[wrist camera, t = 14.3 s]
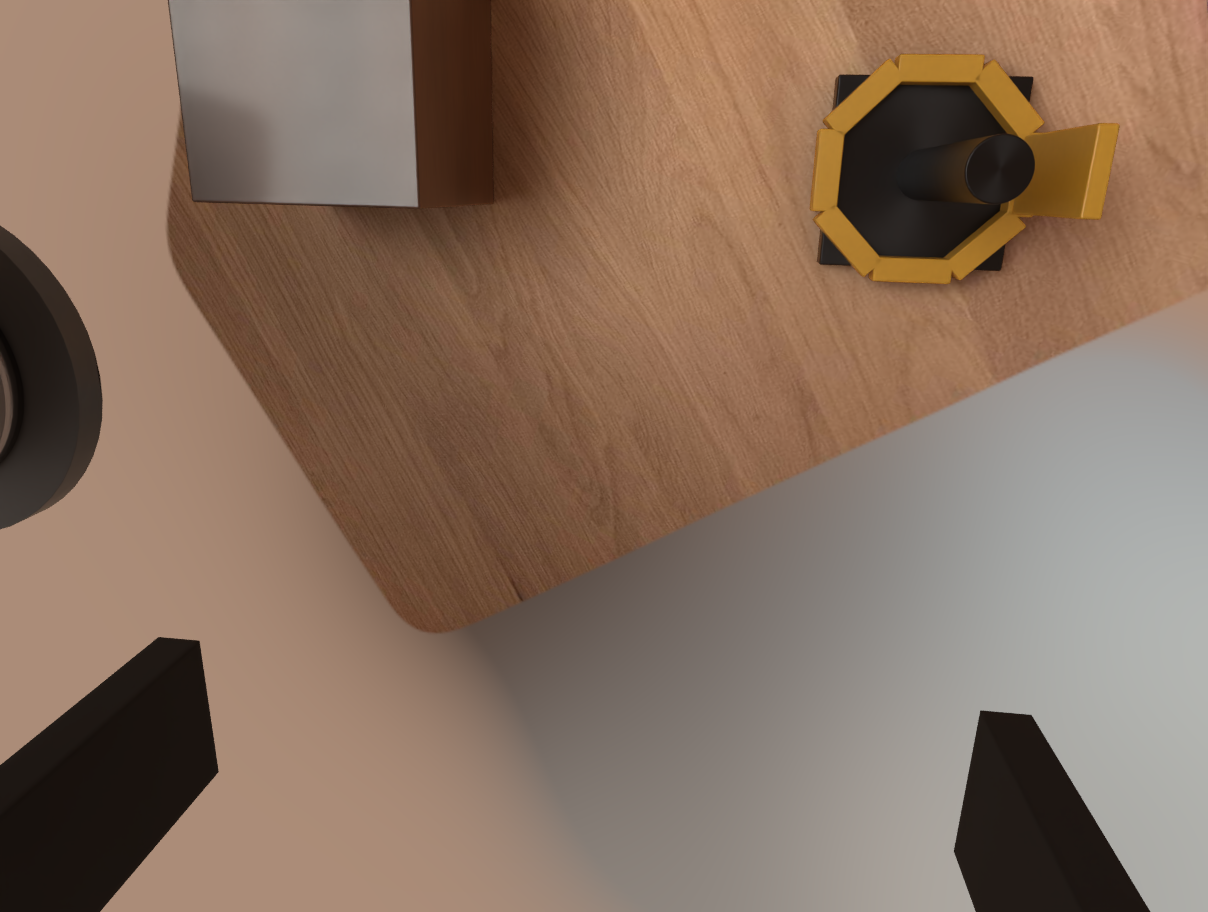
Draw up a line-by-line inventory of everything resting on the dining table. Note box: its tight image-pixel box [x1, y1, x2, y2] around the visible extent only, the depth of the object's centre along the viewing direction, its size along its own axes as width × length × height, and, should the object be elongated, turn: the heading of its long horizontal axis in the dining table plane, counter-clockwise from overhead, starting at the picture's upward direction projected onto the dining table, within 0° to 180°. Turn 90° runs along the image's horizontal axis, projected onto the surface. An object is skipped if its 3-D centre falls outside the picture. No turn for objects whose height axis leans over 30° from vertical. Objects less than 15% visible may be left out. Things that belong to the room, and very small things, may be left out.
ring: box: [810, 54, 1120, 284], centre depth 37 cm, size 10×10×9 cm
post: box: [817, 75, 1035, 271], centre depth 36 cm, size 9×9×13 cm
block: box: [168, 0, 494, 209], centre depth 38 cm, size 10×12×12 cm
